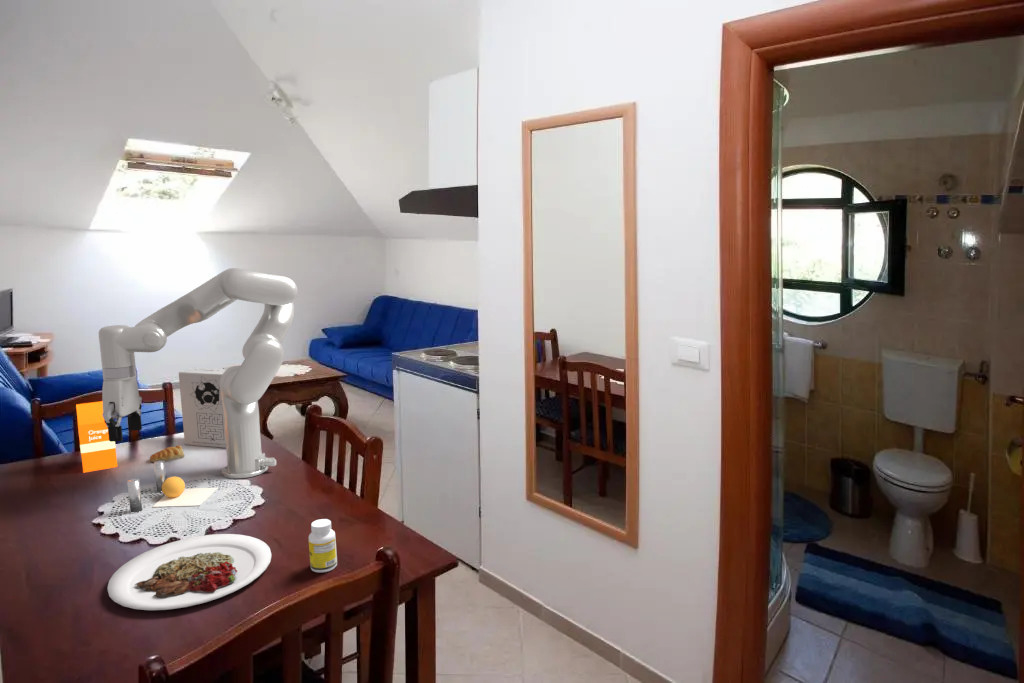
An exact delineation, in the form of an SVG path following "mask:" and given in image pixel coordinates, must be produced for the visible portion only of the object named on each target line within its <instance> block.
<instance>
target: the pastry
mask: <svg viewBox="0 0 1024 683" xmlns="http://www.w3.org/2000/svg"><path fill="white" fill-rule="evenodd" d="M184 457H185V452H184V449H183V448H182V446H181V445H178V444H177V445H176V446H168V447H165V448H163V449H161V450H160V451H156V452H155V453H153V454H151V455H150V457H149V462H152V463H154V462H156V461H165V463H167V462H173V461H177V460H181V459H184Z"/></svg>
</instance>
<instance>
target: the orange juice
mask: <svg viewBox="0 0 1024 683" xmlns="http://www.w3.org/2000/svg"><path fill="white" fill-rule="evenodd" d="M75 405H76V406H75V408H76V416H77V428H78V437H79V439H78V440H79V448H80V456H81V463H82V465H81V466H82V473H83V474H84V473H90V472H95V471H102V470H107V469H114V468H117V467H118V459H117V449H116V448H117V447H116V441H114V442H110V441H109V435H108V427H106V423H105V422H104V421H105V420H104V418H103V416H102V414H103V401H102V400H101V401H93V402H83V403H78V404H77V403H76V404H75Z"/></svg>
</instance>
